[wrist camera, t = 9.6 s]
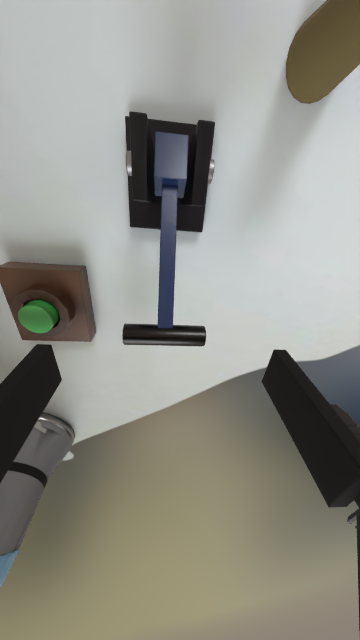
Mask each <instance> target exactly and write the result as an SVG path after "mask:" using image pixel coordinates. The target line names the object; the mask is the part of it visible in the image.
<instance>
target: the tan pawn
mask: <svg viewBox="0 0 360 640" xmlns="http://www.w3.org/2000/svg"><path fill="white" fill-rule="evenodd" d="M359 64H360V0H327V1H326V2H325V3H324V4H323V5H322V6H321V7H319V8H318V9H317V10H316V11H315V12H314V13H313V14H312V15H311V16H310V17H309V18H308V19H307V20H306V21H305V22H304V23H303V25H302V26H301V27H300V29H299V30H298V32H297V33H296V35H295V37H294V39H293V42H292V44H291V46H290V49H289V53H288V58H287V62H286V79H287V83H288V88H289V90H290V92H291V93H292V95H293V97H294V98H295V99H297V100H298V101H300V102H301V103H308V104H310V103H313V102H317V101H319V100H321V99H322V98H323V97H325V96H326V95H328V94H329V93H330V92H331V91H332V90H333V89H334V88H335V87H336V86H337V85H338V84H339V83H340V82H341V81H342V80H343V79H345V78H346V77H347V76H348V75H349V74H350V73H351V72H352V71H353V70H354V69H355V68H356V67H357V66H358V65H359Z"/></svg>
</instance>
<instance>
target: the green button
mask: <svg viewBox="0 0 360 640" xmlns="http://www.w3.org/2000/svg"><path fill="white" fill-rule="evenodd" d="M58 318H59V316H58V312H57V310H56V309H55V307H54V306H52V305H51V304H50V303H48V302H46V301H43V300H33V301H31V302H29V303H28V304H26V305H25V306H23V307H22V308H21V309H20V310H19V312H18V319H19V321H20V323H21V324H22V325H23V326H24V327H25V328H26V329H28V330H30V331H32V332H35V333H45V332H48V331H49V330H50V329H51V328H52V327H53V326H54V325H55V324H56V323H57V321H58Z"/></svg>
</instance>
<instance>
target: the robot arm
mask: <svg viewBox="0 0 360 640" xmlns="http://www.w3.org/2000/svg"><path fill="white" fill-rule="evenodd" d="M61 380H62V379H61V376H60V372H59V369H58V366H57V362H56V359H55V356H54V352H53V349H52V346H51V345H44V344H37V345H36V346H35V347H34V348H33V349H32V350H31V351H30V352H29V353H28V354H27V355H26V357H25V358H24V359H23V360H22V361H21V362H20V363H19V364H18V365H17V366H16V367H15V369H14V370H13V371H12V372H11V373H10V374H9V375H8V376H7V377H6V378H5V379H4V380H3V382H2V383H1V384H0V587H1V585H2V584H3V582H4V580H5V578H6V576H7V574H8V572H9V570H10V567H11V565H12V563H13V561H14V559H15V557H16V555H17V554H18V552H19V548H20V545H21V543H22V541H23V538H24V536H25V533H26V531H27V529H28V526H29V524H30V521H31V519H32V517H33V514H34V512H35V509H36V507H37V504H38V502H39V500H40V498H41V495H42V493H43V490H44V488H45V485H46V483H47V481H48V479H49V477H50V475H51V474H52V473H53V471H54V470H55V469H56V467H57V466H58V465H59V463H60V462H61V461H62V459H63V458H64V457H65V455H66V454H67V453H68V451H69V449H70V448H71V446H72V443H73V441H74V432H73V430H72V428H71V427H70V426H69V425H68V424H67V423H66V422H64V421H63V420H61V419H59V418H57V417H55V416H52V415H49V414H45V413H42V412H43V411H44V409H45V407H46V406H47V404H48V402H49V401H50V399H51V397H52V396H53V394H54V392H55V390H56V389H57V387H58V385H59V384H60V382H61ZM262 383H263V385H264V387H265V389H266V391H267V392H268V394H269V396H270V398H271V400H272V402H273V404H274V405H275V407H276V409H277V411H278V413H279V415H280V417H281V419H282V420H283V422H284V424H285V426H286V428H287V430H288V432H289V433H290V435H291V437H292V439H293V441H294V443H295V445H296V447H297V448H298V450H299V452H300V454H301V456H302V458H303V460H304V461H305V464H306V465H307V467H308V469H309V471H310V473H311V475H312V477H313V479H314V480H315V482H316V484H317V486H318V488H319V490H320V492H321V493H322V495H323V497H324V499H325V501H326V503H327V505H328V507H347V506H348V505H349V504H350V503H351V502H352V501H354V500H355V502H356V504H357V505H358V507H359V509H358V510H357V511H355V512H354V513H353V514H351V515H350V516H349V517H348V520H347V522H348V523H350V524H351V523H352V522H354V521H355V520H357V526H356V528H357V549H358V589H359V629H360V428H359V427H357V424H356V423H355V422H354V421H353V420H352V419H351V417H350V416H349V415H348V414H347V413H346V412H344V411H343V410H342V409H341V408H339V407H338V406H337V405H335V404H334V405H333V404H332V405H331V404H329V403H328V402H327V401H326V399H325V398H324V397H323V395H322V394H321V393H320V392H319V391H318V389H317V388H316V387H315V386H314V384H313V383H312V382H311V381H310V379H309V378H308V377H307V376H306V374H305V373H304V372H303V371H302V370H301V368H300V367H299V366H298V365H297V363H296V362H295V361H294V360H293V358H292V357H291V356H290V355H289V354H288V352H287V351H286V350H274V351H273V353H272V356H271V359H270V361H269V364H268V366H267V369H266V372H265V375H264V377H263V379H262Z"/></svg>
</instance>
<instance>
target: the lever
mask: <svg viewBox="0 0 360 640" xmlns="http://www.w3.org/2000/svg"><path fill="white" fill-rule="evenodd" d="M188 142H189V136H188V135H182V134H173V133H165V132H155V148H154V188H155V196H162V204H161V237H160V269H159V302H158V325H155V324H125V325H124V327H123V343H124V345H168V346H204V345H205V341H206V330H205V327H204V326H188V325H173V307H174V280H175V252H176V225H177V198H183V197H184V192H185V187H186V182H187V167H188Z"/></svg>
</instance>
